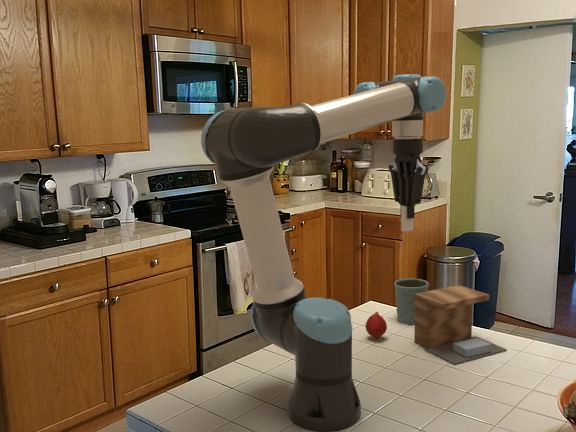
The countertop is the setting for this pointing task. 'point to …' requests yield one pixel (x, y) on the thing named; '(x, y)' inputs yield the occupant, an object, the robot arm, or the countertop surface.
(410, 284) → the grey-green tapered bin
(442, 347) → the mat
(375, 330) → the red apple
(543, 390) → the countertop surface
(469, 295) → the brown flat-topped block
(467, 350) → the box
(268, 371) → the countertop surface
